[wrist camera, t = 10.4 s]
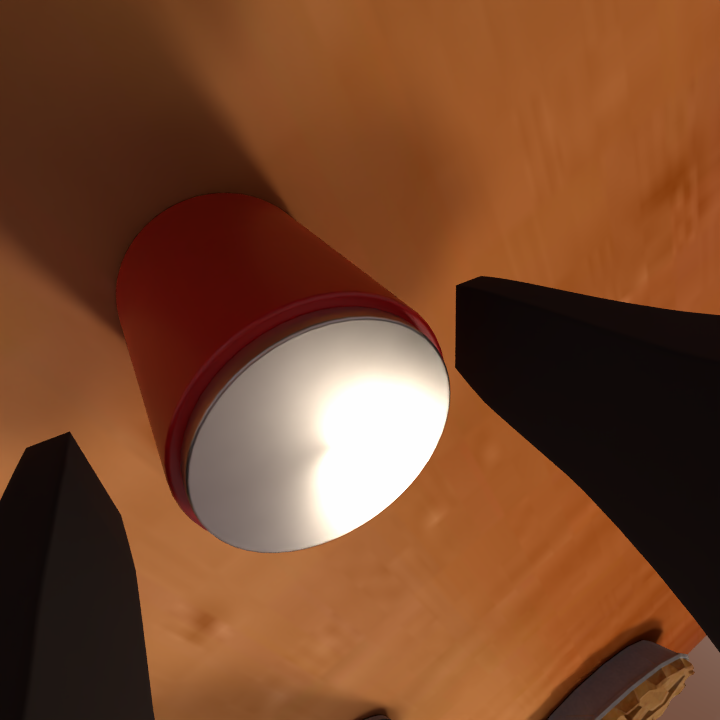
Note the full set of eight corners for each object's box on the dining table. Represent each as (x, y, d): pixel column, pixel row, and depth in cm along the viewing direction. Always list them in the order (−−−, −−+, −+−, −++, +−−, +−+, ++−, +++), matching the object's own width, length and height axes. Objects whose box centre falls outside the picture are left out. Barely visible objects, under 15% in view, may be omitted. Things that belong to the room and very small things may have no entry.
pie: (548, 764, 66) (578, 808, 62) (492, 763, 51) (528, 821, 47) (671, 645, 66) (709, 683, 62) (651, 610, 51) (699, 656, 47)
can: (63, 266, 11) (87, 448, 6) (266, 150, 12) (420, 236, 7) (192, 412, 14) (270, 602, 9) (343, 314, 15) (482, 445, 10)
